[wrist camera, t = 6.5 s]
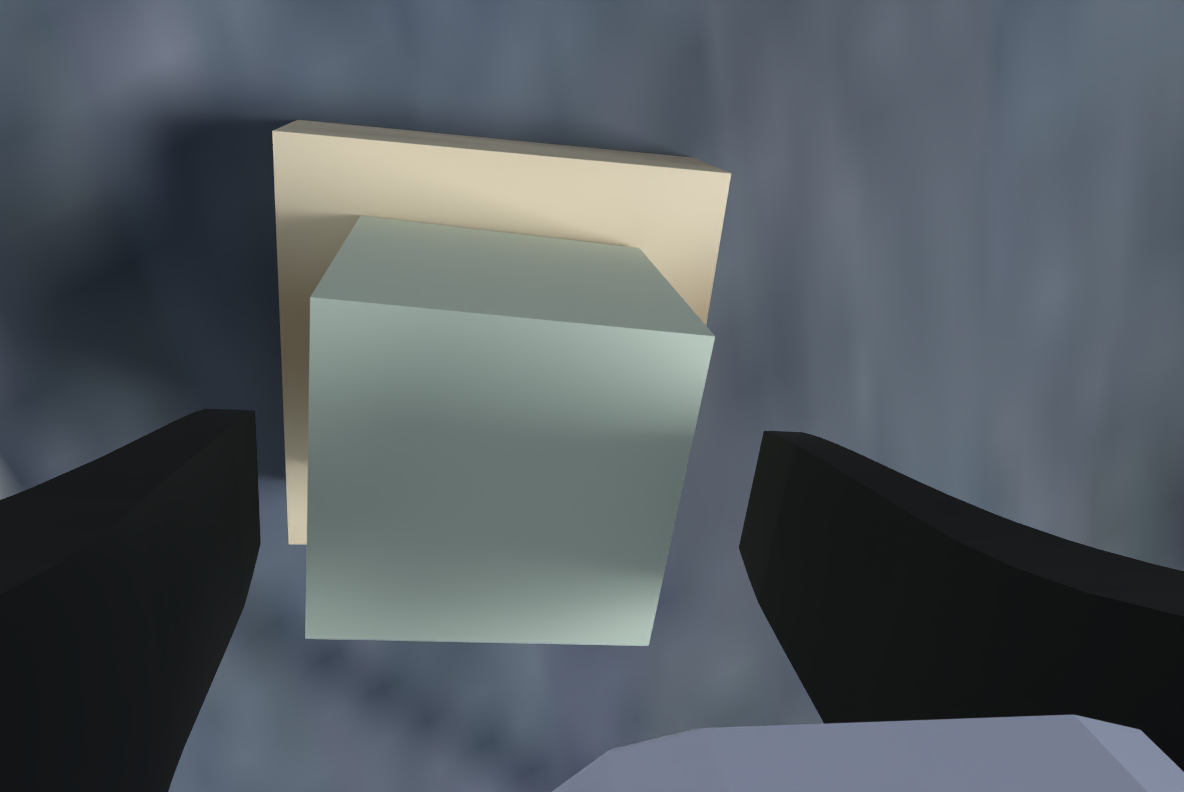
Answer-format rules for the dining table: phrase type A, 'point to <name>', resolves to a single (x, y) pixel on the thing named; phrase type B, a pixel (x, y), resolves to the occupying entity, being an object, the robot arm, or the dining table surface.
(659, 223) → the pedestal
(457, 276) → the cube
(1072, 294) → the dining table surface
